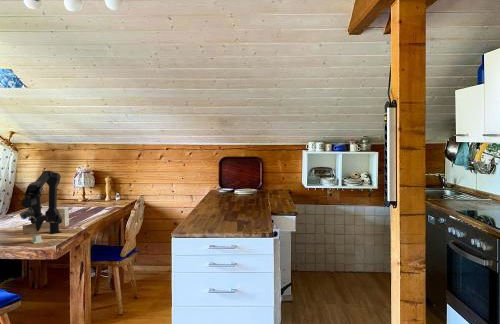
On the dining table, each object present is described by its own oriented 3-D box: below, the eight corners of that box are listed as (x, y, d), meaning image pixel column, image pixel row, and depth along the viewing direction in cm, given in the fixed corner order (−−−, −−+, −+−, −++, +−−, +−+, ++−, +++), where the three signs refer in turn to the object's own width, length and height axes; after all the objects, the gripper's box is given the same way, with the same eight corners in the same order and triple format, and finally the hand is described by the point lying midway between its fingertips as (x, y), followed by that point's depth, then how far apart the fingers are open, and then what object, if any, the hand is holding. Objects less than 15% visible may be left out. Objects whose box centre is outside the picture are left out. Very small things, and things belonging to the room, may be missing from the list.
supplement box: (54, 226, 286) (53, 208, 285) (58, 225, 291) (58, 207, 290) (65, 227, 285) (64, 208, 284) (69, 225, 290) (68, 207, 289)
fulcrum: (31, 242, 245) (30, 235, 245) (39, 240, 249) (39, 234, 249) (34, 243, 242) (34, 236, 241) (43, 241, 245) (42, 235, 245)
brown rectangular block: (22, 233, 242) (22, 225, 241) (48, 229, 251) (47, 221, 250) (24, 234, 239) (23, 226, 239) (49, 230, 248) (49, 222, 248)
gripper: (15, 205, 244) (16, 230, 245) (27, 208, 232) (28, 235, 233) (34, 202, 252) (35, 227, 253) (47, 205, 240) (48, 231, 241)
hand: (36, 230), depth 245 cm, fingers closed on brown rectangular block, 4 cm apart
